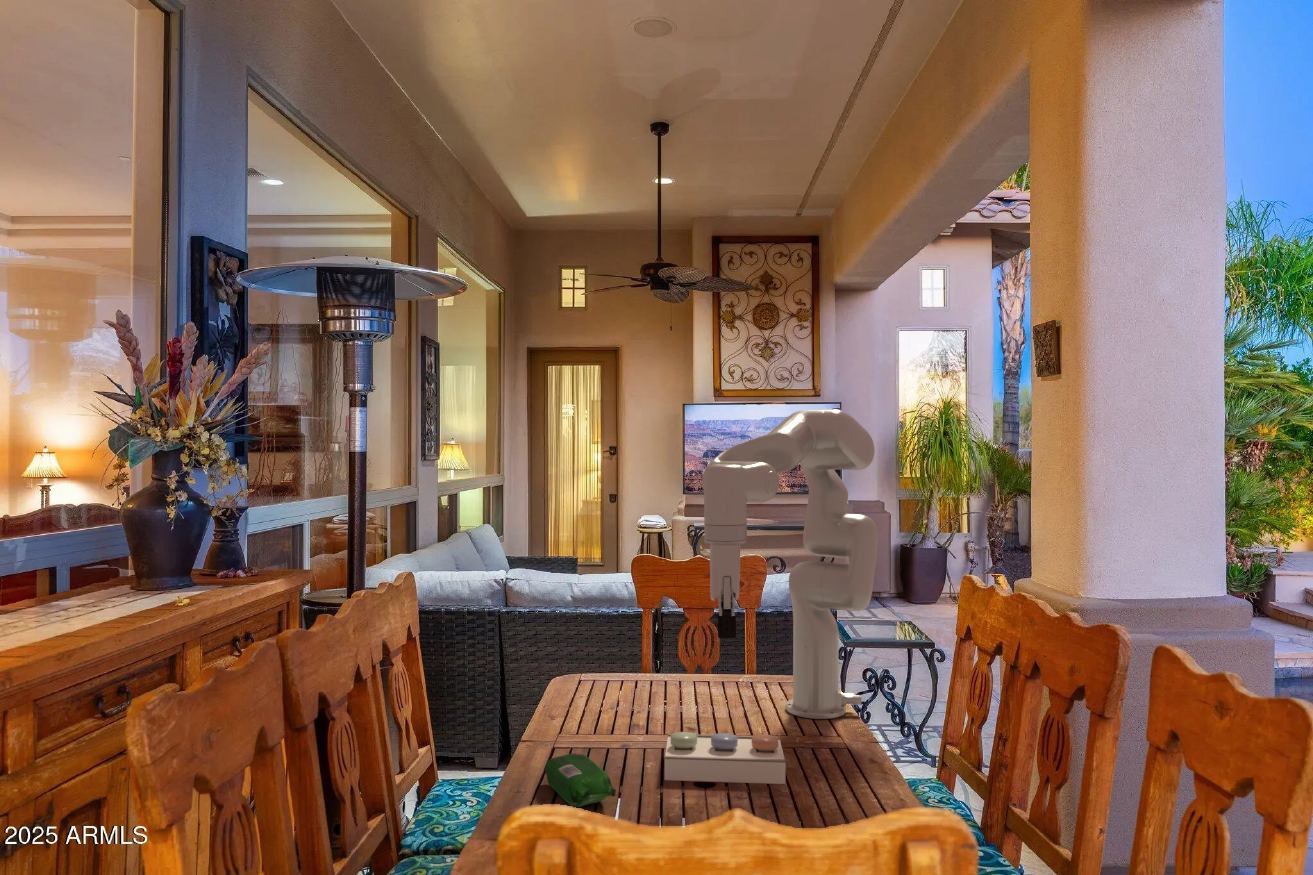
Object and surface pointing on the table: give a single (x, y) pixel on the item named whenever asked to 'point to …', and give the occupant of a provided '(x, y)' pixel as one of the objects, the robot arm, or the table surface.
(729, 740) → the slate button
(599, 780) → the snack package
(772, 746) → the terracotta button
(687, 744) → the sage button
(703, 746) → the console
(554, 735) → the table surface
